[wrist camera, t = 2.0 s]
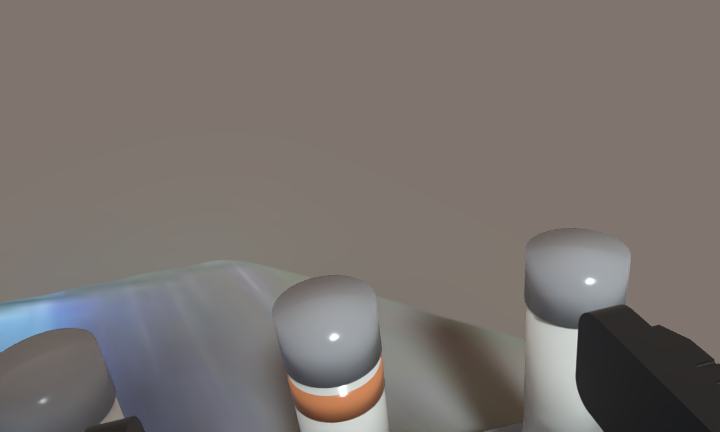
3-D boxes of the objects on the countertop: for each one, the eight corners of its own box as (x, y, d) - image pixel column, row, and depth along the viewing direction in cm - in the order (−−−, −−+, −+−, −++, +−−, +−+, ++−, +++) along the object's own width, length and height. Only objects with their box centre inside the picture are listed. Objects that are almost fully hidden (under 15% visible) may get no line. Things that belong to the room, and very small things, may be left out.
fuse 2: (543, 520, 28) (556, 286, 22) (507, 454, 31) (509, 238, 25) (620, 499, 28) (653, 266, 22) (575, 436, 32) (593, 221, 26)
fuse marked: (327, 579, 26) (275, 347, 20) (316, 502, 30) (269, 286, 24) (412, 556, 27) (387, 322, 21) (391, 483, 31) (364, 267, 24)
